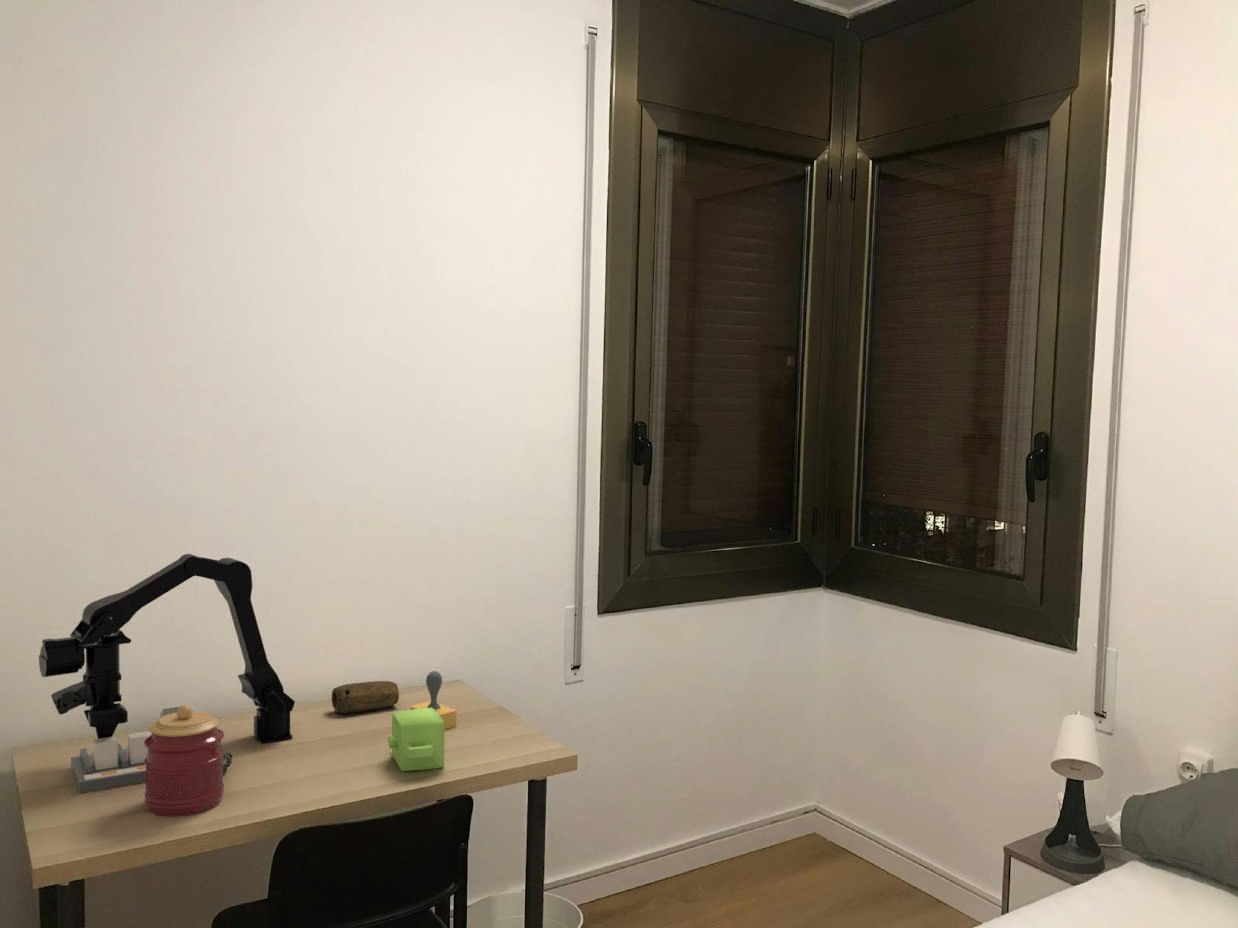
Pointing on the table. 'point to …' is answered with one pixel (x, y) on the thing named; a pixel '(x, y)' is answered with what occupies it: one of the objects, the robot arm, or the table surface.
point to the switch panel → (106, 772)
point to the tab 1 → (105, 753)
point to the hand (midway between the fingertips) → (103, 748)
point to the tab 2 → (137, 747)
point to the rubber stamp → (434, 686)
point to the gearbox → (417, 739)
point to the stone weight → (364, 696)
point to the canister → (184, 763)
